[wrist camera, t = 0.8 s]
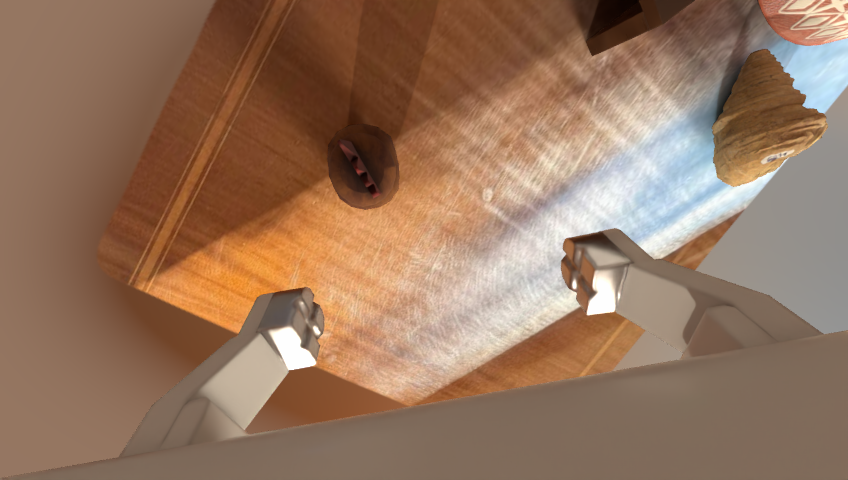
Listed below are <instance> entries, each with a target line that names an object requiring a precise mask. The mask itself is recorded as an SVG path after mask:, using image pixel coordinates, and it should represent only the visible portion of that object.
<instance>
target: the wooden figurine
mask: <svg viewBox="0 0 848 480" xmlns="http://www.w3.org/2000/svg"><path fill="white" fill-rule="evenodd" d="M328 167H329V177H330V179H331V182H332V184H333V187H334V189H335V190H336V192H337V194H338V196H339V198H340V199H341V200H343V201H344V202H345V203H347V204H348V205H350V206H351V207H355V208H359V209H364V210H366V209H372V208H378V207H380V206H382V205H384V204H386V203H387V202H389V201H390V200H391V199H392V198H393V196H394V195H395V193H396V192H397V191H398V189H399V165H398V159H397V155H396V151H395V148H394V145H393V142H392V140H391V137H390V136H389V135H388V134H386V133H385V132H384V131H382V130H381V129H380V128H378V127H375V126H371V125H366V124H357V125H349V126H347V127H345V128H344V129H342V130H340V131H339V132H337V133H336V134H335V136H334V137H333V139H332V140H331V142H330V144H329V145H328Z"/></svg>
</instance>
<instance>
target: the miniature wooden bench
mask: <svg viewBox="0 0 848 480" xmlns="http://www.w3.org/2000/svg"><path fill="white" fill-rule="evenodd" d="M693 1H695V0H639V1H638V2H637V3H635V4H634V5H633V6H632V7H630V8H629V9H628V10H626V11H625V12H624V13H622V14H621V15H620V16H618V17H617V18H616V19H615V20H613V21H612V22H611V23H609V24H608V25H607V26H605V27H604V28H603V29H601V30H600V31H599V32H598V33H596V34H595V35H594V36H592V37H591V38H590V39H588V40H587V41H586V43H587V46H588V48H589V50H590V52H591V55H592V56H594V55H596V54H599V53H601V52H603V51H605V50H607V49H610V48H612V47H614V46H616V45H619V44H621V43H623V42H625V41H627V40H630V39H632V38H634V37H636V36H639V35H641V34H643V33H645V32H647V31H650V30H652V29H654V28H656V27H659V26H661V25H663V24H664V23H666V22H667V21H668V20H670V19H671V18H672V17H674V16H675V15H676V14H678V13H679V12H680V11H682V10H683V9H684V8H686V7H687V6H688V5H689V4H691V3H692V2H693Z"/></svg>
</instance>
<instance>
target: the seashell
mask: <svg viewBox="0 0 848 480" xmlns="http://www.w3.org/2000/svg"><path fill="white" fill-rule="evenodd" d="M793 81H794V78H791V77H790V74H789V73H785V72H783V67H782V66H781V63H780V62H777V61H776V58H775V57H774V55H772V54H770V51H769V50H768V49H762V50H758V51H755V52H753V53H751V54H750V55H749V56H748V58H747V60H746V62H745V64H744V65H743V66H742V68H741V71H740V74H739V75H738V79H737V81H736V82H735V84H734V85H733V87H732V90H731V91H732V94H731V95H730V96H729V98H728V99H727V101H726V102H725V104H724V106H723V113H722V114H721V115H719V117H718V119H717V121H716V122H715V123H714V124H713V126H712V129H713V131H712V133H713V135H714V144H715V148H714V157H713V163H714V164H715V167H716V173H717V177H718V178H719V179H721V180H722V181H723V182H724V183H726V184H729V185H731V186H733V187H735V186H740V185H741V184H746V183H749V182H752V181H754V180H756V179H757V178H758V177H761V176H763V175H766V174H767V173H769V172H773V171H775V170H776V169H777V168H778V167H780V165H781V164H782V163H783V161H784V160H785V159H787V158H788V157H793V156H796V155H798V154H799V153H800V152H801V151H803V150H805V149H807V148H809V147H810V146H812V145H813V143H815V142H816V141H817V140H818V139H820V138H822V135H823V134H824V132H825V131H826V129H827V128H828V125H827V123H826V116H825V115H824V114H823V113H819V112H818V111H817V109H807V108H805V107H803V106H802V105H803V103H804V101H805V99H806V95H805V94H801V93H800V91H799V90H796V89H794V88H793V87H792V85H793Z"/></svg>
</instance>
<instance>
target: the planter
mask: <svg viewBox="0 0 848 480" xmlns="http://www.w3.org/2000/svg"><path fill="white" fill-rule="evenodd" d="M758 2H759V5H760V8H761V11H762V13H763V15H764V17H765V18H766V20H767V22H768V24H769V25H770V26H771V27H772V28H773V30H774V31H775V32H776V33H777V34H779V35H780V36H781V37H783V38H784V39H785V40H788V41H790V42H792V43H795V44H799V45H805V46H811V45H821V44H825V43H829V42H833V41H837V40H841V39H845V38H848V0H758Z"/></svg>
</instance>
